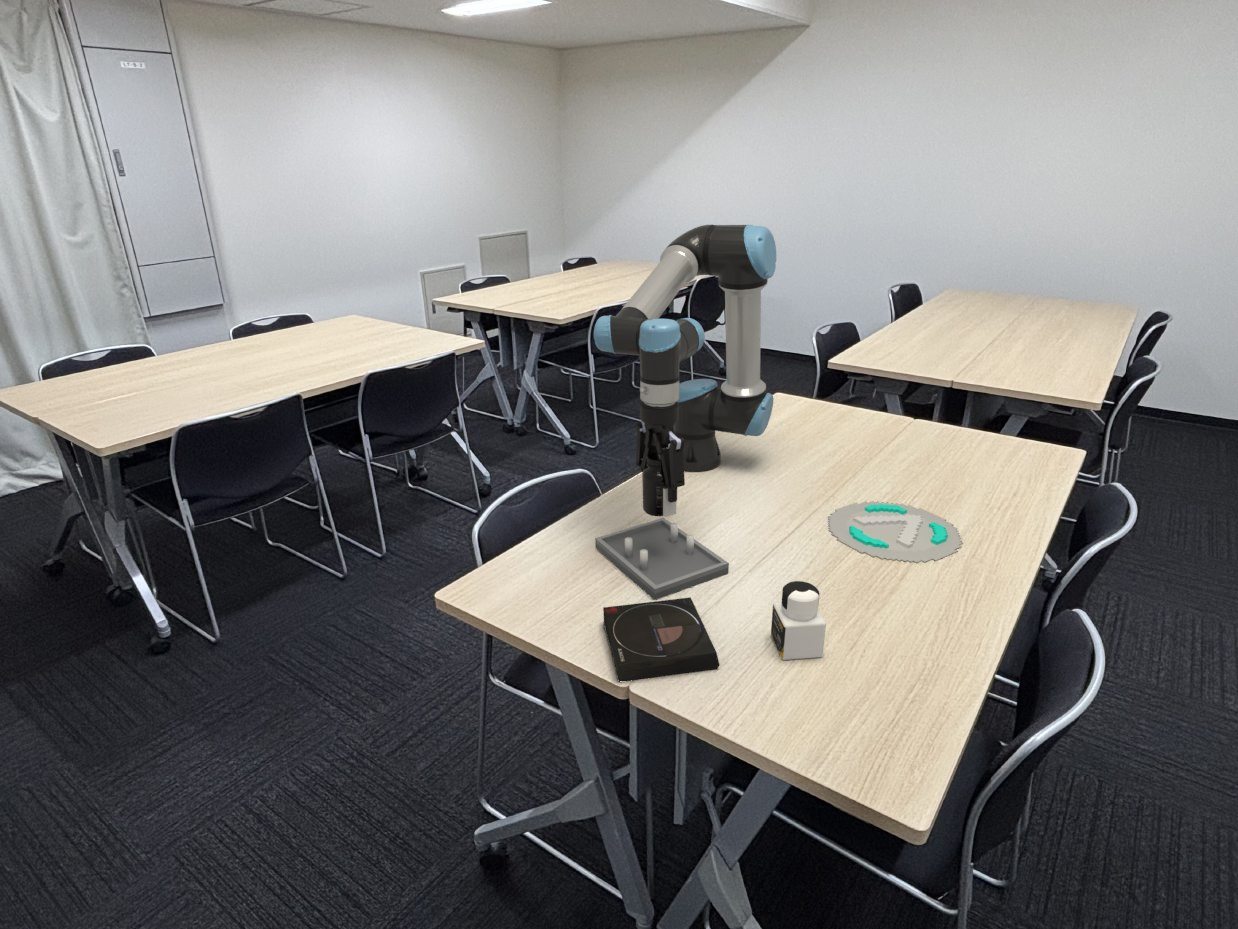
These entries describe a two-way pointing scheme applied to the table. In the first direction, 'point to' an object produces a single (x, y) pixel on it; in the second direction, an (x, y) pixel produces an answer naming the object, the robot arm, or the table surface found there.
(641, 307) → the robot arm
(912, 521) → the grey symbol plate
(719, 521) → the table surface
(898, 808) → the table surface
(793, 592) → the medicine bottle
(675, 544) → the pin tray
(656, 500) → the supplement bottle
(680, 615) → the portable cd player
